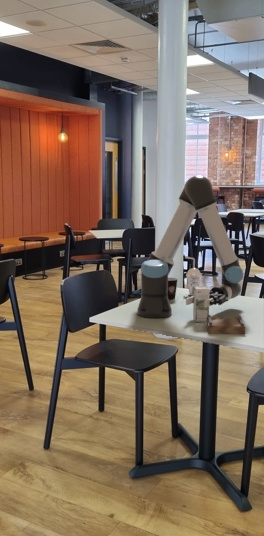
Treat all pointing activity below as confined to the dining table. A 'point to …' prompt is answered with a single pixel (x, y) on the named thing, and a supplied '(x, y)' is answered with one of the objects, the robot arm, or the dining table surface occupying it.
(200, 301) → the syrup box
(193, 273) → the cup with straw
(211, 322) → the walnut serving tray
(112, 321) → the dining table surface
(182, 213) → the robot arm
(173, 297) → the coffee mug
